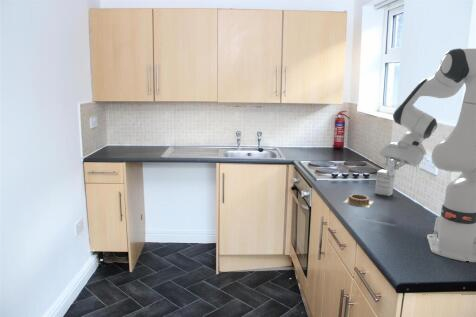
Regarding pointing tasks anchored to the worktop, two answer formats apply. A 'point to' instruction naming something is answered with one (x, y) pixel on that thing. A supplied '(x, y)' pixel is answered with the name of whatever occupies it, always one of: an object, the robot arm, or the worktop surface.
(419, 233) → the worktop surface
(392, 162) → the peg
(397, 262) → the worktop surface
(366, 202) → the brown cake on plate
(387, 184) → the supplement box
